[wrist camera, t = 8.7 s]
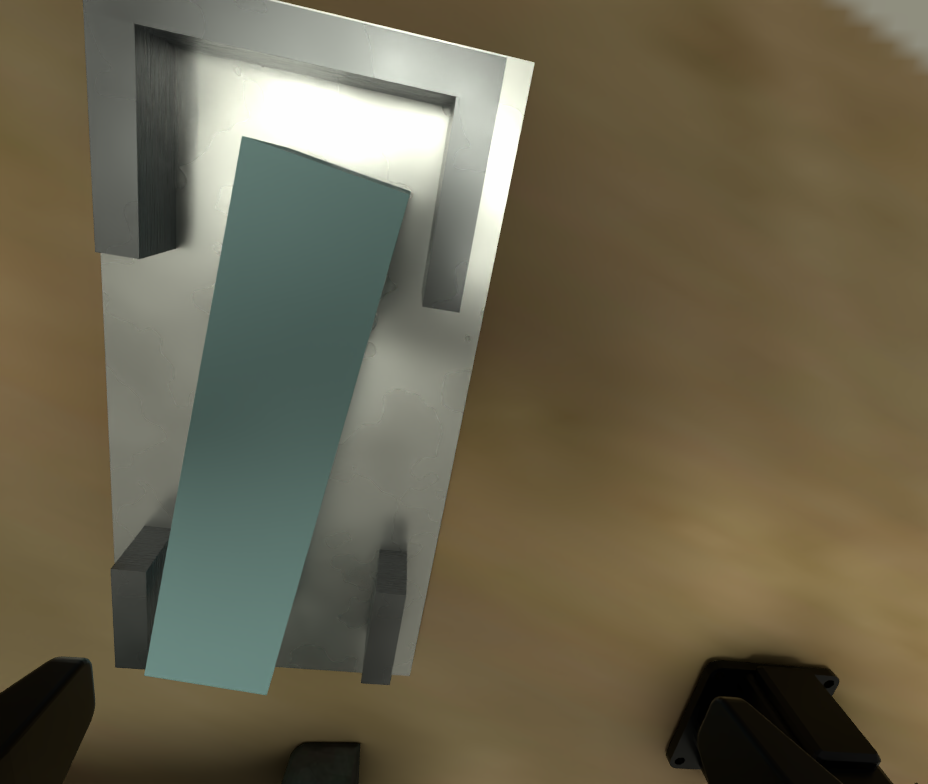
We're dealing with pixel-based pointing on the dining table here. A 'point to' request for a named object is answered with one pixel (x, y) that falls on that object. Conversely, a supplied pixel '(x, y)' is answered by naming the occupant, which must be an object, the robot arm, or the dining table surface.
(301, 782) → the ceramic cat
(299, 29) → the cup bracket
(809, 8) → the dining table surface
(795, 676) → the robot arm
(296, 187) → the rail
